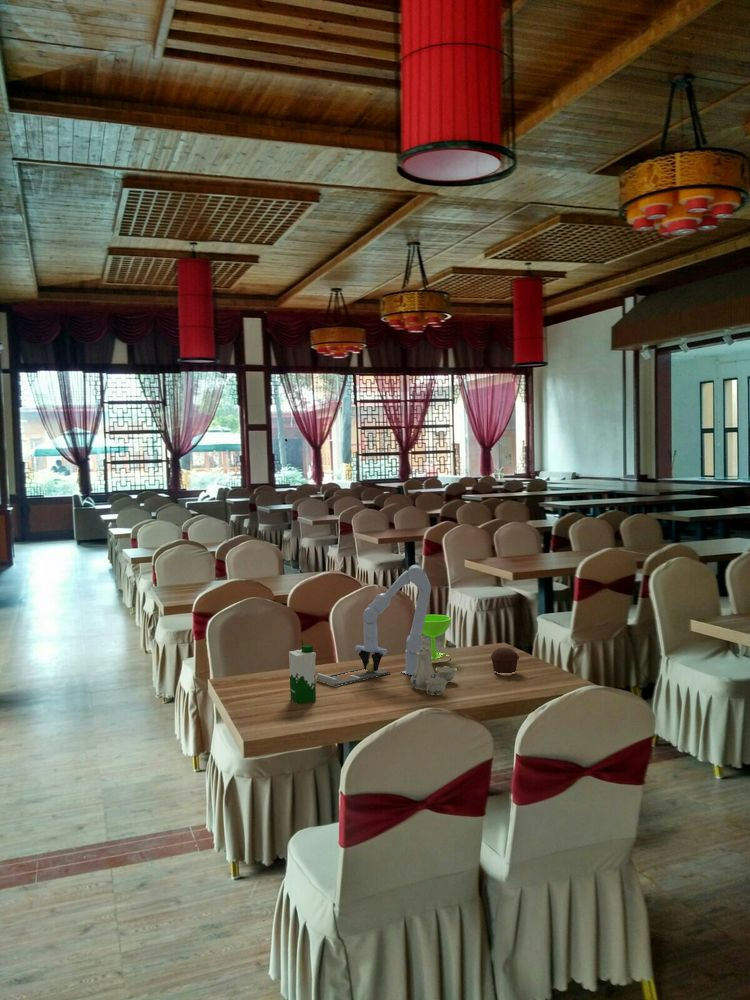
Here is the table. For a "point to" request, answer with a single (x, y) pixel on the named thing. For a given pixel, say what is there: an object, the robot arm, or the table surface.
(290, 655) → the milk carton
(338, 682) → the lane mat
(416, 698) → the table surface
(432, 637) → the wineglass
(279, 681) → the table surface
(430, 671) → the chinaware
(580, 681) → the table surface
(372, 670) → the ball
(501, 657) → the muffin
